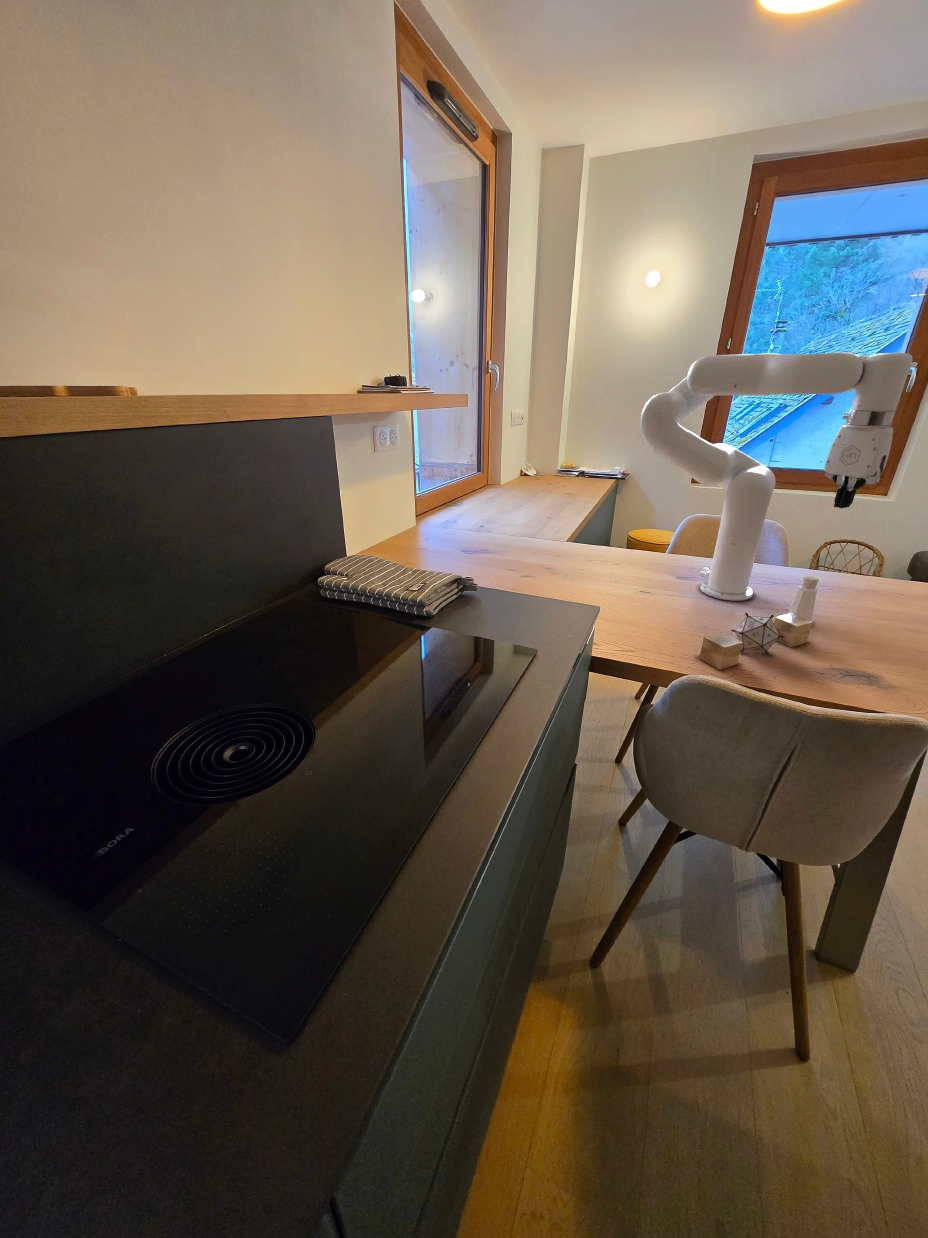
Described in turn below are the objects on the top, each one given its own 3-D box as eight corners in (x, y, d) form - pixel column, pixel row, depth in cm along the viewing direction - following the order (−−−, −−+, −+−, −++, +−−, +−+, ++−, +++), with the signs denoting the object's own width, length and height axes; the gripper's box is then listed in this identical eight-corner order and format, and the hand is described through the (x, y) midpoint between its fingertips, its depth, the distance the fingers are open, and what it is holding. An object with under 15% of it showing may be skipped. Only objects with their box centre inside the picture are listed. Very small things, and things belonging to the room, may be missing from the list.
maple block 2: (769, 637, 108) (775, 617, 106) (784, 633, 110) (790, 612, 108) (790, 647, 104) (797, 626, 102) (806, 642, 106) (813, 621, 104)
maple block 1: (698, 658, 101) (703, 636, 99) (716, 652, 103) (721, 631, 101) (719, 669, 97) (724, 647, 95) (737, 664, 99) (743, 642, 96)
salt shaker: (803, 629, 112) (818, 584, 107) (779, 620, 116) (792, 576, 111) (816, 623, 114) (830, 578, 110) (791, 614, 119) (804, 571, 114)
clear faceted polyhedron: (754, 670, 103) (774, 651, 94) (718, 645, 107) (733, 625, 98) (778, 641, 105) (799, 620, 97) (741, 618, 109) (759, 595, 100)
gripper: (822, 418, 108) (798, 502, 116) (899, 422, 96) (866, 516, 104) (843, 417, 111) (819, 499, 119) (921, 421, 98) (888, 512, 106)
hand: (841, 506), depth 111 cm, fingers closed
